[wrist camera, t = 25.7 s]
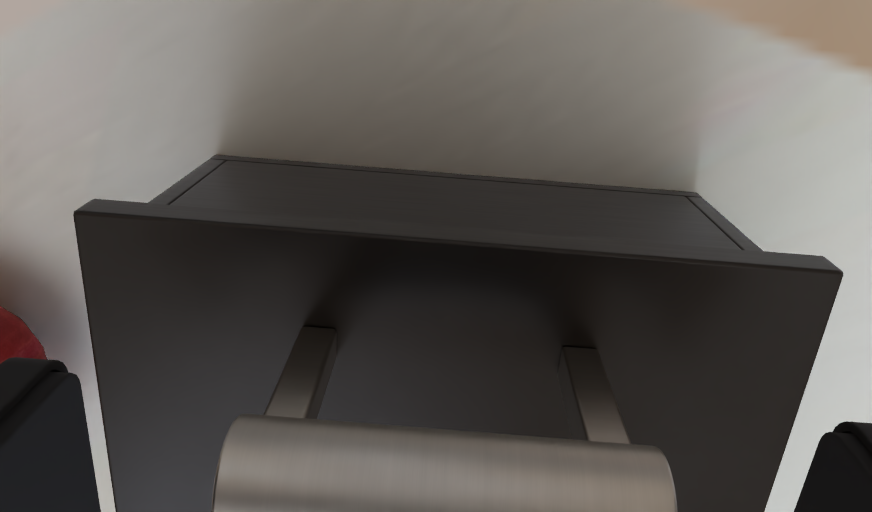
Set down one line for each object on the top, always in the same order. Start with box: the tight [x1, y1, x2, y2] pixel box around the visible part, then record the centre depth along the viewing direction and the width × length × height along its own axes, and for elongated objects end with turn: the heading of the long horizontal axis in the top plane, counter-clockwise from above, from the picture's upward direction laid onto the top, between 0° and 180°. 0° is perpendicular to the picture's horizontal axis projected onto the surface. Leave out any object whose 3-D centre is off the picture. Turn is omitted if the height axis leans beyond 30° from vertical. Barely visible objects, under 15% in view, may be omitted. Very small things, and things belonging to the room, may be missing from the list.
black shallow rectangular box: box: [148, 155, 764, 252], centre depth 20 cm, size 17×14×6 cm
